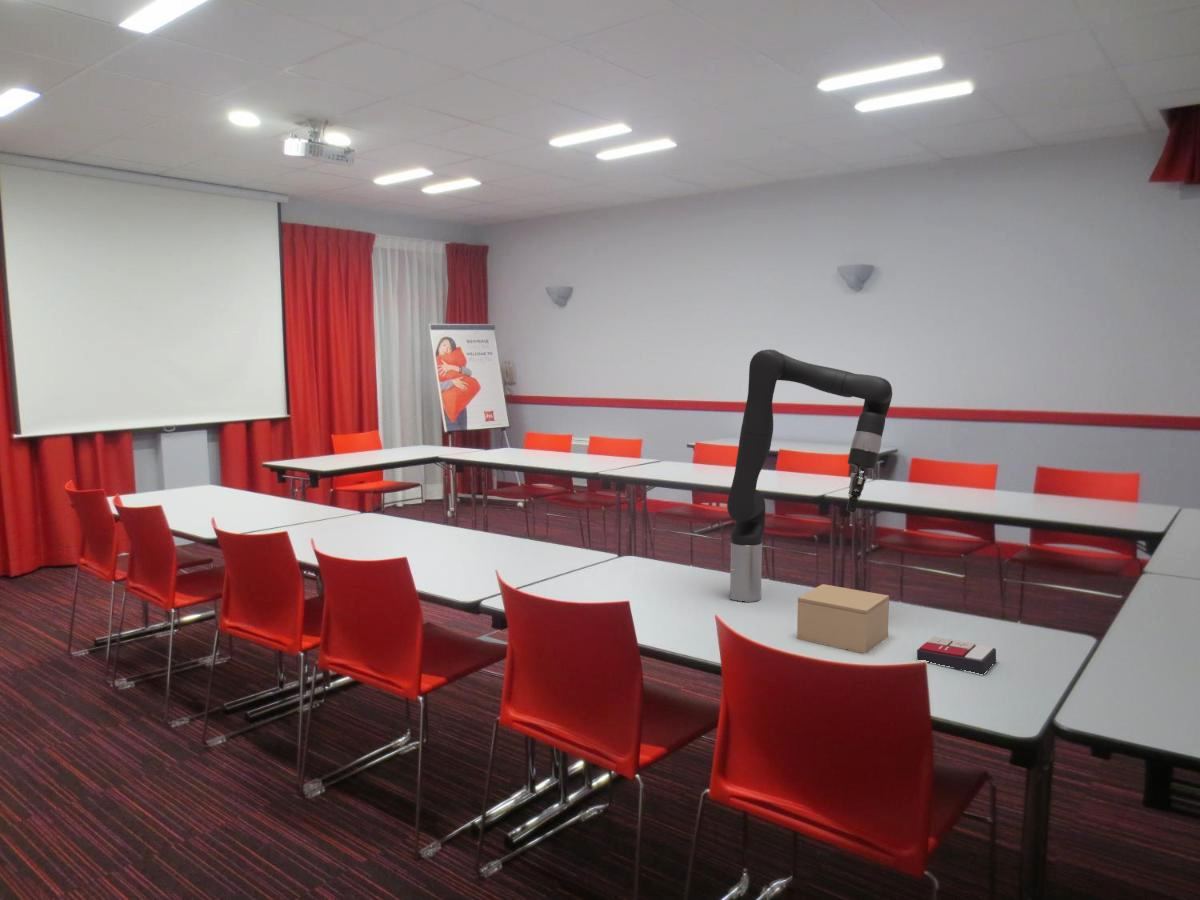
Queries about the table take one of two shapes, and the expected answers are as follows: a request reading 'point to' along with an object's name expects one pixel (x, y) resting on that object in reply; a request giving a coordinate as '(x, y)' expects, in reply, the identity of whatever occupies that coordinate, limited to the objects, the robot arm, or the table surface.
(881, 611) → the box
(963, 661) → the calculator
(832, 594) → the lid
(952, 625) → the table surface
